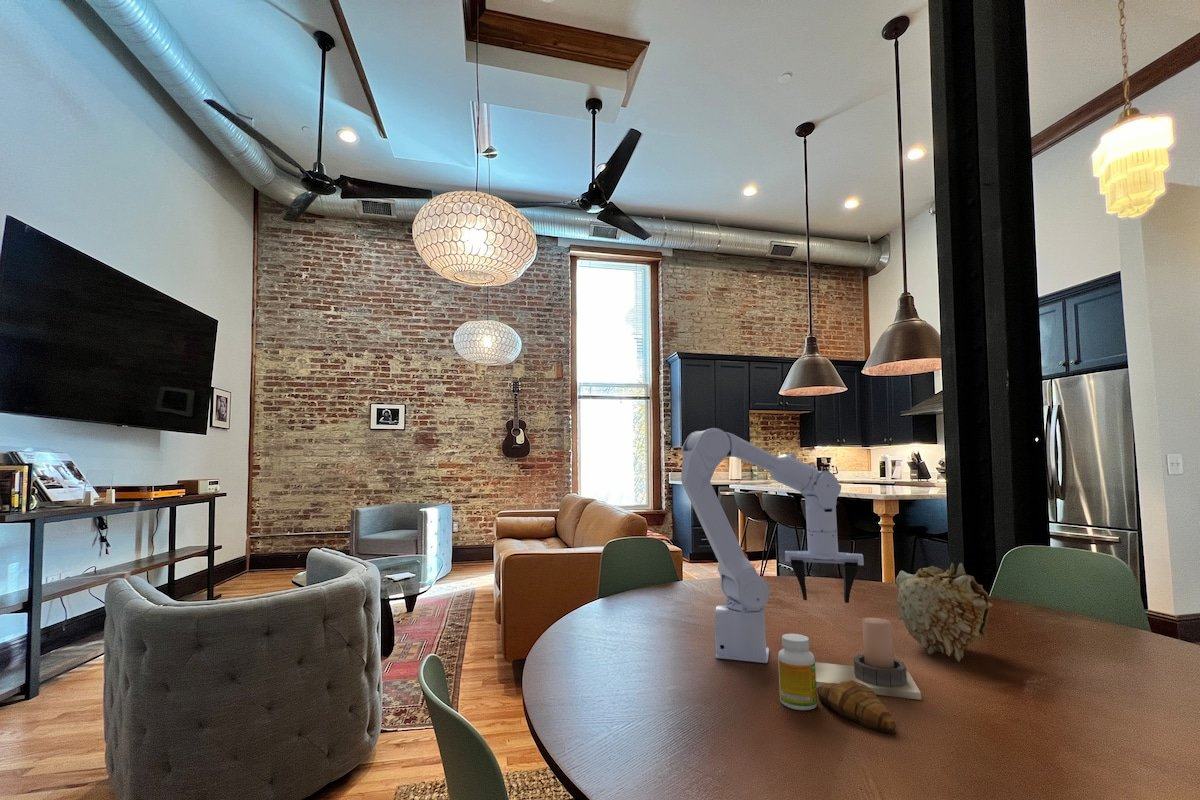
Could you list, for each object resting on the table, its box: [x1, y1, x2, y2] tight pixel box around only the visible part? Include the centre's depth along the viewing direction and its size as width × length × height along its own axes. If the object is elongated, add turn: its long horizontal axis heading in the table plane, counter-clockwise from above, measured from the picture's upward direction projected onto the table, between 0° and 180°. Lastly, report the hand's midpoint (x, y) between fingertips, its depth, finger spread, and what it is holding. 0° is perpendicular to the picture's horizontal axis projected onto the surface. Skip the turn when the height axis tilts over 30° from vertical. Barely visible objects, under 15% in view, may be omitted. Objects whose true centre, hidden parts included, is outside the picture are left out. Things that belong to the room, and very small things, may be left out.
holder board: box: [815, 654, 922, 701], centre depth 93 cm, size 20×10×4 cm, turn 71°
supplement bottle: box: [777, 633, 818, 711], centre depth 84 cm, size 5×5×10 cm
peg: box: [861, 617, 895, 669], centre depth 92 cm, size 4×4×9 cm
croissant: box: [816, 680, 897, 734], centre depth 80 cm, size 14×7×5 cm, turn 21°
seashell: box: [895, 562, 994, 663], centre depth 108 cm, size 18×18×15 cm
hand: (825, 600), depth 109 cm, fingers open, 7 cm apart
